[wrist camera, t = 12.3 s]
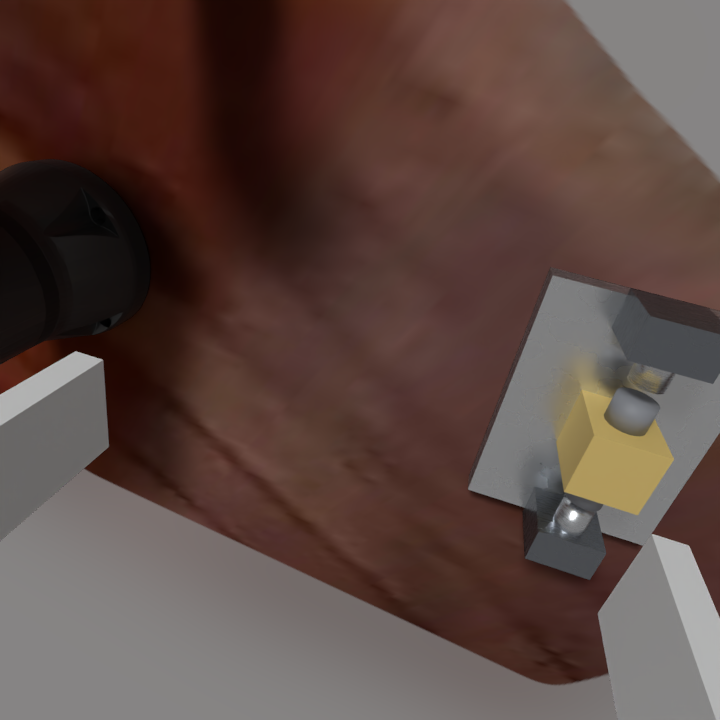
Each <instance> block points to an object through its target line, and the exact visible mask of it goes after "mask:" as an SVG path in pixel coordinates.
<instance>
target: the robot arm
mask: <svg viewBox="0 0 720 720" xmlns="http://www.w3.org/2000/svg"><path fill="white" fill-rule="evenodd" d="M149 283H150V261H149V255H148V250H147V246H146V243H145V240H144V237H143V234H142V232H141V229H140V227H139V225H138V223H137V221H136V219H135V218H134V216H133V214H132V213H131V211H130V210H129V208H128V207H127V205H126V204H125V203H124V201H123V200H122V199H121V198H120V196H119V195H118V194H117V193H116V192H115V191H114V190H113V189H112V188H111V187H110V186H109V185H108V184H107V183H105V182H104V181H103V180H102V179H100V178H99V177H98V176H96V175H95V174H93V173H92V172H90V171H88V170H87V169H85V168H83V167H81V166H78V165H76V164H73V163H70V162H67V161H62V160H55V159H46V160H37V161H29V162H22V163H18V164H15V165H12V166H10V167H7V168H5V169H4V170H2V171H1V172H0V364H2V363H4V362H5V361H7V360H9V359H11V358H13V357H15V356H17V355H18V354H20V353H22V352H24V351H26V350H28V349H29V348H31V347H33V346H35V345H37V344H39V343H41V342H43V341H47V340H55V339H64V338H72V337H80V336H88V335H95V334H99V333H103V332H106V331H108V330H110V329H112V328H114V327H116V326H118V325H119V324H121V323H123V322H125V321H126V320H128V319H129V318H131V317H132V316H133V315H134V314H135V313H136V312H137V311H138V310H139V309H140V307H141V306H142V304H143V302H144V300H145V298H146V295H147V292H148V288H149ZM108 447H109V440H108V425H107V410H106V394H105V379H104V364H103V360H102V359H99V358H96V357H93V356H89V355H86V354H83V353H80V352H77V351H75V352H73V353H72V354H70V355H68V356H66V357H65V358H63V359H61V360H60V361H58V362H56V363H54V364H53V365H51V366H49V367H47V368H46V369H44V370H42V371H41V372H39V373H37V374H35V375H34V376H32V377H30V378H28V379H27V380H25V381H23V382H21V383H20V384H18V385H16V386H15V387H13V388H11V389H9V390H8V391H6V392H4V393H2V394H1V395H0V541H1V540H2V539H3V538H4V537H6V536H7V535H8V534H9V533H10V532H11V531H12V530H14V529H15V528H16V527H17V526H18V525H19V524H21V523H22V522H23V521H24V520H25V519H26V518H27V517H29V516H30V515H31V514H32V513H33V512H34V511H36V510H37V508H39V507H40V506H41V505H42V504H44V503H45V502H46V501H47V500H48V499H49V498H51V497H52V496H53V495H54V494H55V493H56V492H57V491H58V490H60V489H61V488H62V487H63V486H64V485H65V484H67V483H68V482H69V481H70V480H71V479H72V478H73V477H75V476H76V475H77V474H78V473H79V472H80V471H81V470H83V469H84V468H85V467H86V466H87V465H89V464H90V463H91V462H92V461H93V460H94V459H95V458H97V457H98V456H99V455H100V454H101V453H102V452H103V451H105V450H106V449H107V448H108ZM598 618H599V623H600V628H601V634H602V639H603V644H604V650H605V655H606V660H607V666H608V671H609V677H610V681H611V687H612V692H613V698H614V703H615V709H616V714H617V720H720V618H719V616H718V613H717V611H716V609H715V606H714V604H713V602H712V599H711V597H710V594H709V592H708V590H707V587H706V585H705V583H704V580H703V578H702V575H701V573H700V571H699V568H698V566H697V564H696V561H695V559H694V556H693V554H692V552H691V549H690V547H689V546H688V545H685V544H682V543H679V542H676V541H673V540H669V539H666V538H663V537H660V536H657V535H654V534H651V536H650V537H649V539H648V540H647V541H646V543H645V544H644V546H643V547H642V549H641V550H640V552H639V553H638V555H637V556H636V558H635V559H634V561H633V562H632V564H631V565H630V567H629V568H628V570H627V571H626V572H625V574H624V575H623V577H622V578H621V580H620V581H619V583H618V584H617V586H616V587H615V589H614V590H613V592H612V593H611V595H610V596H609V598H608V599H607V600H606V602H605V603H604V605H603V606H602V608H601V609H600V611H599V612H598Z"/></svg>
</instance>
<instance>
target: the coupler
mask: <svg viewBox="0 0 720 720" xmlns="http://www.w3.org/2000/svg"><path fill="white" fill-rule="evenodd" d="M659 411H660V405H659V404H658V403H657V402H656V401H655V400H654V399H653V398H651V397H650V396H648V395H647V394H645V393H643V392H640V391H638V390H635V389H631V388H625V387H622V388H618V389H617V390H616V392H615V394H614V396H613V398H609V397H605V396H602V395H598V394H595V393H591V392H588V391H585V390H581V392H580V394H579V396H578V398H577V400H576V402H575V404H574V406H573V408H572V410H571V412H570V415H569V417H568V419H567V421H566V423H565V425H564V427H563V429H562V431H561V433H560V435H559V437H558V439H557V441H556V444H557V451H558V457H559V463H560V470H561V476H562V483H563V489H564V492H565V495H566V496H567V498H568V499H569V500H570V501H571V502H572V503H573V504H575V505H576V506H578V507H580V508H582V509H584V510H587V511H599V510H600V509H601V508H602V506H603V505H607V506H610V507H613V508H616V509H619V510H623V511H626V512H629V513H632V514H635V515H638V514H639V513H640V511H641V510H642V508H643V507H644V505H645V504H646V502H647V500H648V499H649V497H650V496H651V494H652V493H653V491H654V490H655V488H656V487H657V485H658V484H659V482H660V480H661V479H662V477H663V476H664V474H665V473H666V471H667V470H668V468H669V467H670V465H671V464H672V462H673V461H674V458H673V456H672V454H671V452H670V450H669V447H668V445H667V443H666V441H665V439H664V437H663V435H662V433H661V431H660V429H659V427H658V425H657V423H656V420H655V417H656V416H657V414H658V412H659Z"/></svg>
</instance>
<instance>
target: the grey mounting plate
mask: <svg viewBox="0 0 720 720" xmlns="http://www.w3.org/2000/svg"><path fill="white" fill-rule="evenodd" d="M622 387H625V388H631V389H635V390H638V391H640V392H643V393H645V394H647V395H648V396H650V397H651V398H653V399H654V400H655V401H656V402H657V403H658V404H659V405H660V411H659V412H658V414H657V416H656V417H655V420H656V423H657V425H658V427H659V429H660V431H661V433H662V435H663V437H664V439H665V441H666V443H667V445H668V447H669V450H670V452H671V454H672V456H673V458H674V461H673V462H672V464H671V465H670V467H669V468H668V470H667V471H666V473H665V474H664V476H663V477H662V479H661V480H660V482H659V484H658V485H657V487H656V488H655V490H654V491H653V493H652V494H651V496H650V497H649V499H648V500H647V502H646V504H645V505H644V507H643V508H642V510H641V511H640V513H639V514H638V515H635V514H632V513H629V512H626V511H623V510H619V509H616V508H613V507H610V506H607V505H603V506H602V508H601V509H600V510H599V511H587V510H584V509H582V508H580V507H578V506H576V505H575V504H573V503H572V502H571V501H570V500H569V499H568V498H567V496H566V495H565V492H564V489H563V483H562V476H561V470H560V463H559V457H558V451H557V444H556V441H557V439H558V437H559V435H560V433H561V431H562V429H563V427H564V425H565V423H566V421H567V419H568V417H569V415H570V412H571V410H572V408H573V406H574V404H575V402H576V400H577V398H578V396H579V394H580V392H581V390H585V391H588V392H591V393H595V394H598V395H602V396H605V397H609V398H613V396H614V394H615V392H616V390H617V389H618V388H622ZM719 433H720V311H718V310H715V309H711V308H707V307H703V306H699V305H695V304H692V303H688V302H684V301H680V300H676V299H672V298H668V297H664V296H660V295H657V294H653V293H649V292H645V291H641V290H637V289H633V288H629V287H625V286H621V285H617V284H614V283H610V282H606V281H602V280H598V279H594V278H590V277H586V276H583V275H579V274H575V273H571V272H567V271H563V270H559V269H555V268H551V267H550V270H549V272H548V275H547V277H546V280H545V282H544V285H543V287H542V290H541V293H540V295H539V298H538V300H537V303H536V305H535V308H534V310H533V313H532V316H531V318H530V321H529V323H528V326H527V328H526V331H525V333H524V336H523V339H522V341H521V344H520V346H519V349H518V351H517V354H516V356H515V359H514V362H513V364H512V367H511V369H510V372H509V374H508V377H507V379H506V382H505V385H504V387H503V390H502V392H501V395H500V397H499V400H498V403H497V405H496V408H495V410H494V413H493V415H492V418H491V420H490V423H489V426H488V428H487V431H486V433H485V436H484V438H483V441H482V443H481V446H480V449H479V451H478V454H477V456H476V459H475V461H474V464H473V466H472V469H471V472H470V474H469V482H468V490H471V491H474V492H477V493H480V494H484V495H487V496H490V497H493V498H496V499H499V500H502V501H505V502H509V503H512V504H515V505H518V506H521V507H524V510H523V531H524V552H525V559H528V560H531V561H534V562H537V563H540V564H543V565H547V566H550V567H553V568H556V569H559V570H562V571H565V572H568V573H571V574H574V575H577V576H580V577H583V578H586V579H589V580H590V579H591V577H592V575H593V574H594V572H595V571H596V569H597V567H598V566H599V564H600V563H601V561H602V560H603V558H604V556H605V555H606V550H605V546H604V542H603V537H602V533H605V534H608V535H612V536H615V537H618V538H621V539H624V540H627V541H630V542H633V543H637V544H640V545H644V544H645V542H646V541H647V539H648V538H649V536H650V535H651V534H652V532H653V531H654V529H655V528H656V526H657V525H658V523H659V522H660V520H661V519H662V517H663V516H664V514H665V513H666V511H667V510H668V508H669V507H670V505H671V504H672V502H673V501H674V499H675V498H676V496H677V495H678V494H679V492H680V491H681V489H682V488H683V486H684V485H685V483H686V482H687V480H688V479H689V477H690V476H691V474H692V473H693V471H694V470H695V468H696V467H697V465H698V464H699V462H700V461H701V459H702V458H703V456H704V455H705V454H706V452H707V451H708V449H709V448H710V446H711V445H712V443H713V442H714V440H715V439H716V437H717V436H718V434H719ZM601 532H602V533H601Z"/></svg>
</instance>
